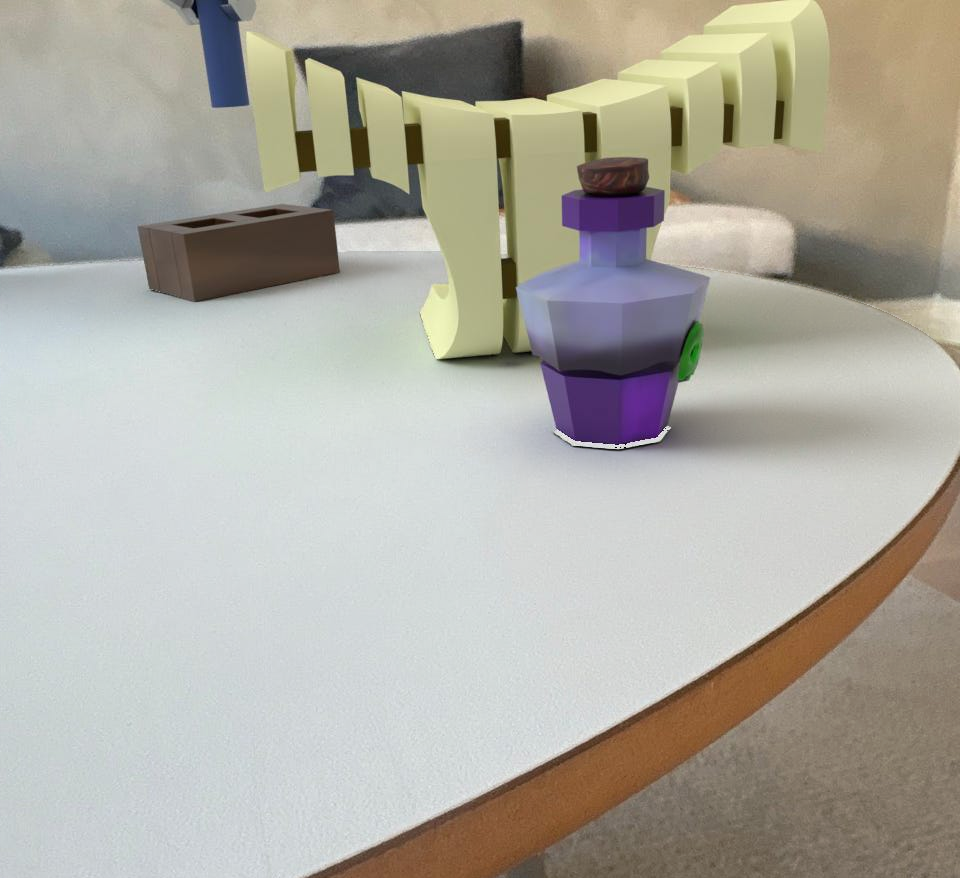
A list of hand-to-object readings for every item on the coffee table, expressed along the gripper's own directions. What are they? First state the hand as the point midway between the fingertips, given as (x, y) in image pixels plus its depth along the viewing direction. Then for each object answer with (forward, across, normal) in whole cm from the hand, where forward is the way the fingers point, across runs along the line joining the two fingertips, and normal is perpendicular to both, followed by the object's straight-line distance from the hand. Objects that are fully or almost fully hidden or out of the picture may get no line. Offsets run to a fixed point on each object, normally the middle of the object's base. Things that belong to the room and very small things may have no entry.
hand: (223, 16), depth 80 cm
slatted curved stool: (+7, -28, +20) cm, 35 cm away
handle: (+4, 0, +5) cm, 6 cm away
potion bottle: (-4, -40, +32) cm, 51 cm away
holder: (+14, +2, +13) cm, 19 cm away
